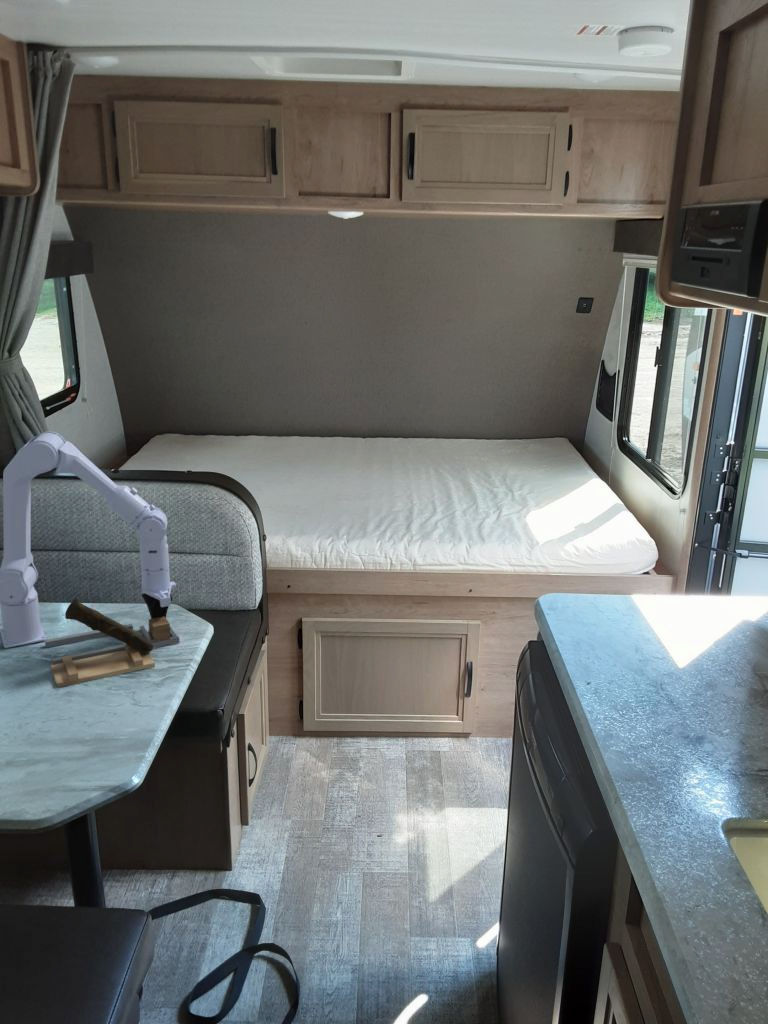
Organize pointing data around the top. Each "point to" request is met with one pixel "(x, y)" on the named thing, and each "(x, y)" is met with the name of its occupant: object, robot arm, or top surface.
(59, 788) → the top surface
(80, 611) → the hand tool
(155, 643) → the key guide
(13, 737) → the top surface
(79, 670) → the rack
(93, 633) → the socket channel
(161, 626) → the key block
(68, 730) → the top surface
